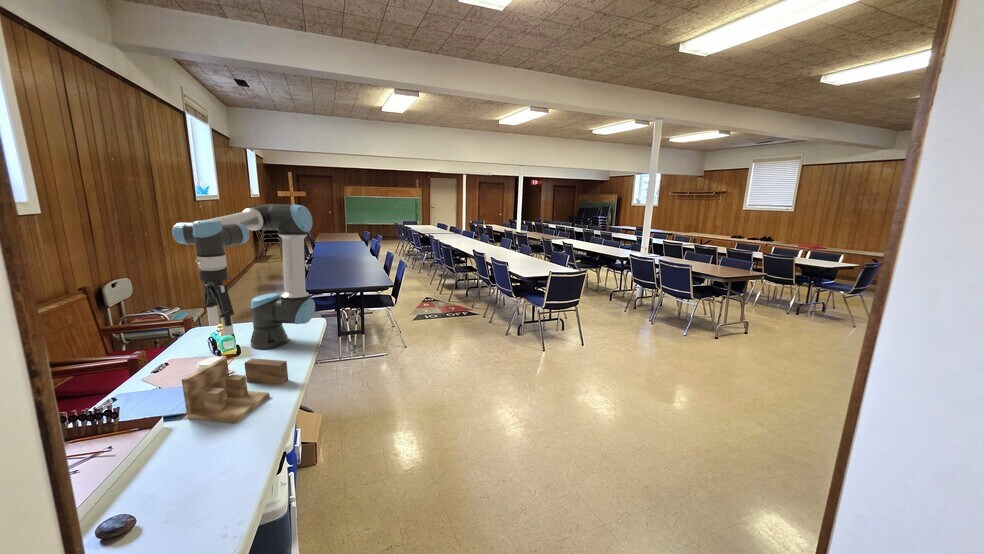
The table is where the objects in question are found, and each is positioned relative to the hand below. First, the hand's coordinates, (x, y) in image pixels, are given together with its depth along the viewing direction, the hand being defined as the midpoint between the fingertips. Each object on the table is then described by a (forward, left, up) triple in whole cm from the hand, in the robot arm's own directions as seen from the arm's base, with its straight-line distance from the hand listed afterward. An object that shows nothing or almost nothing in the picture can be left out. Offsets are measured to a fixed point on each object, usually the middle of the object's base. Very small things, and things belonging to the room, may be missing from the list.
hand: (221, 329), depth 128 cm
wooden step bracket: (+7, +6, -24) cm, 26 cm away
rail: (-11, +6, -25) cm, 28 cm away
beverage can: (-1, -7, -25) cm, 26 cm away
